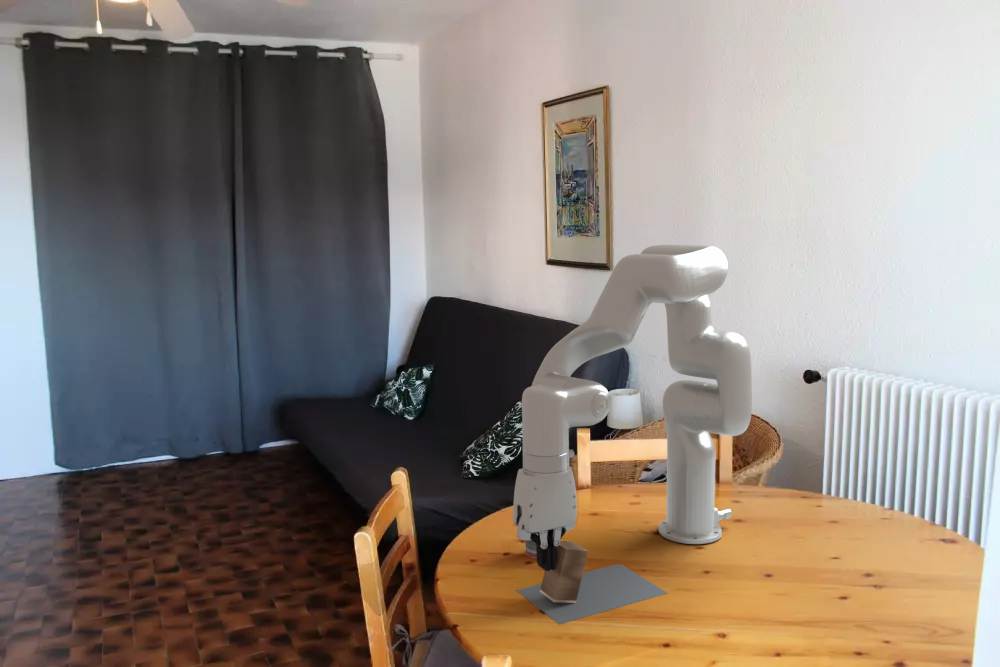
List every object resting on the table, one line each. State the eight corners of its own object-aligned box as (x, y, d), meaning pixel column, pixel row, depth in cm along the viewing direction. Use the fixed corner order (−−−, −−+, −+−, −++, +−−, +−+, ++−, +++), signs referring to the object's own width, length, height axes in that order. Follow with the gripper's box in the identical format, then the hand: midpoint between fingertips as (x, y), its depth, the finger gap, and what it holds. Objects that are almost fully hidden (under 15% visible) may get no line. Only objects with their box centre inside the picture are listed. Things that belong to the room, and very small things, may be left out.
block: (561, 592, 145) (573, 542, 145) (575, 603, 141) (588, 551, 141) (539, 591, 143) (551, 540, 143) (553, 602, 139) (566, 549, 139)
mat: (619, 566, 157) (619, 563, 156) (668, 596, 144) (668, 592, 144) (516, 593, 146) (516, 590, 146) (559, 627, 134) (559, 624, 134)
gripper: (571, 448, 144) (572, 550, 147) (494, 462, 137) (496, 569, 140) (596, 459, 138) (596, 566, 140) (516, 474, 131) (518, 586, 133)
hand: (546, 567), depth 140 cm, fingers closed
